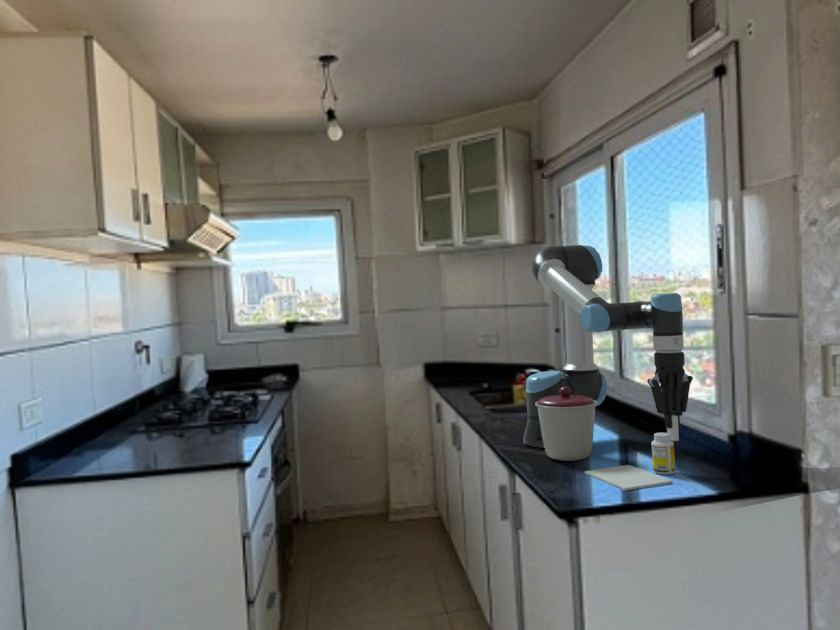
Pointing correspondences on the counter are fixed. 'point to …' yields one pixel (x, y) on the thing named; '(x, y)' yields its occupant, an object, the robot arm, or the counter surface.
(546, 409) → the canister
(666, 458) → the supplement bottle
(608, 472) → the mat
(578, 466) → the counter surface
